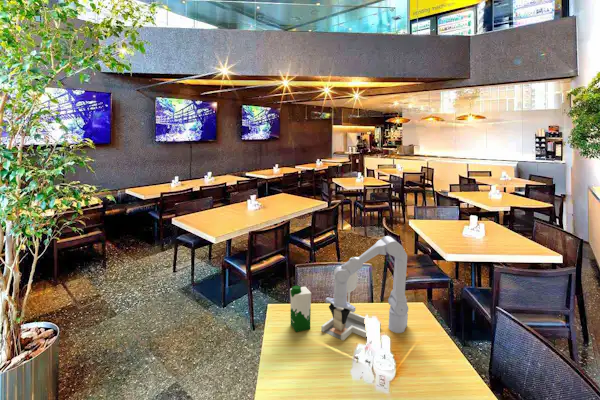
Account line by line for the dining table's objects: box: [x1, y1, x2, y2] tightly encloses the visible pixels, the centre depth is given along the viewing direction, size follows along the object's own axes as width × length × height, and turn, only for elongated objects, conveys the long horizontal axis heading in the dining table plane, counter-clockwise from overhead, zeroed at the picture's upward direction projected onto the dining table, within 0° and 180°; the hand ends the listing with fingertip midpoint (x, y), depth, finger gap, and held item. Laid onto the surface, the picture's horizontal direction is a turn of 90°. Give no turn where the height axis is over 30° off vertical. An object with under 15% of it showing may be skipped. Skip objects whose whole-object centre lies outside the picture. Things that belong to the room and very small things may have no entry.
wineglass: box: [347, 271, 359, 306], centre depth 161 cm, size 9×9×21 cm
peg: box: [333, 307, 346, 331], centre depth 141 cm, size 4×4×9 cm
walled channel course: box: [320, 311, 382, 341], centre depth 142 cm, size 19×20×3 cm
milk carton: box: [289, 285, 312, 333], centre depth 144 cm, size 9×9×20 cm
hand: (339, 321), depth 142 cm, fingers closed on peg, 4 cm apart
